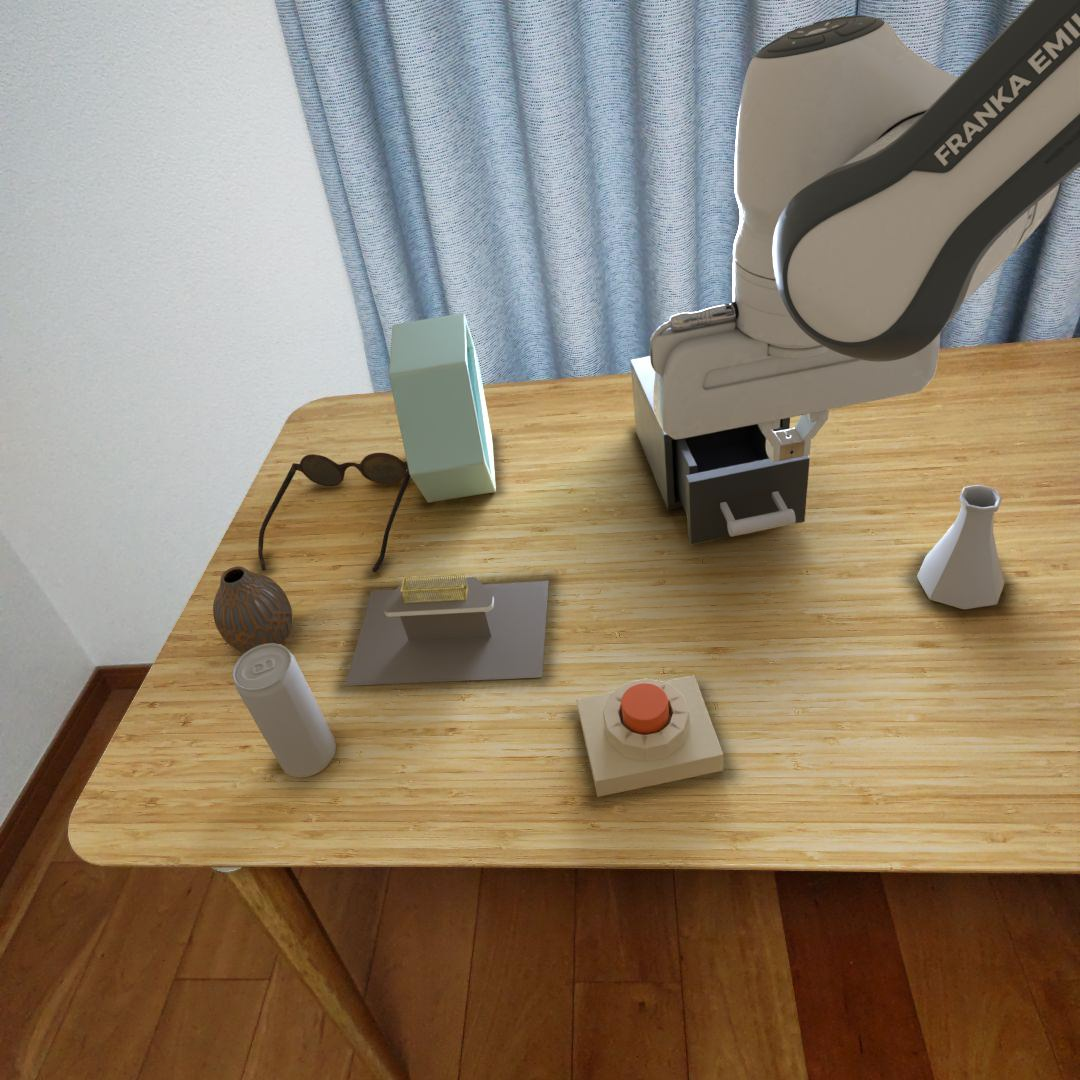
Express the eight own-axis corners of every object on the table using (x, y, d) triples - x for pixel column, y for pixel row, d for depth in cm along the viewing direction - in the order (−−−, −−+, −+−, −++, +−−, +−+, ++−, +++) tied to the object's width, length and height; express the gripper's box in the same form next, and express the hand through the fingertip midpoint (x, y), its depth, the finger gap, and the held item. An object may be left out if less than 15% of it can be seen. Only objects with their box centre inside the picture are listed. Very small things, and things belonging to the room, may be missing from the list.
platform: (371, 590, 90) (353, 543, 86) (548, 580, 88) (539, 531, 83) (345, 685, 81) (324, 638, 77) (542, 677, 79) (531, 627, 74)
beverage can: (278, 745, 77) (227, 655, 69) (332, 724, 78) (288, 633, 70) (286, 789, 74) (233, 700, 66) (342, 767, 75) (297, 676, 67)
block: (695, 691, 76) (693, 660, 73) (723, 770, 70) (723, 740, 67) (578, 715, 75) (573, 685, 73) (597, 797, 69) (592, 768, 67)
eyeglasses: (419, 482, 102) (409, 447, 99) (384, 574, 92) (372, 538, 88) (300, 484, 105) (287, 449, 102) (253, 573, 95) (236, 538, 91)
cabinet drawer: (821, 550, 84) (827, 486, 79) (703, 574, 84) (701, 511, 79) (759, 443, 98) (761, 382, 92) (656, 463, 97) (653, 404, 92)
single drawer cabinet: (786, 486, 93) (790, 409, 87) (667, 510, 93) (663, 435, 87) (741, 410, 104) (743, 337, 98) (635, 431, 104) (630, 359, 97)
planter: (501, 506, 104) (478, 443, 84) (435, 516, 104) (397, 456, 84) (483, 374, 109) (457, 284, 89) (419, 384, 109) (379, 297, 89)
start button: (662, 692, 71) (661, 678, 70) (674, 728, 69) (673, 715, 68) (618, 701, 71) (616, 687, 70) (628, 738, 69) (626, 724, 68)
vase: (315, 621, 88) (286, 557, 82) (272, 674, 84) (238, 610, 78) (260, 606, 91) (228, 542, 85) (216, 656, 86) (179, 593, 80)
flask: (918, 608, 79) (936, 523, 72) (914, 551, 84) (930, 467, 77) (1009, 615, 77) (1036, 528, 70) (999, 556, 82) (1023, 471, 75)
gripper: (660, 343, 58) (667, 506, 67) (966, 284, 58) (931, 453, 68) (637, 299, 63) (646, 457, 72) (921, 244, 63) (894, 408, 72)
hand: (787, 454), depth 70 cm, fingers closed
